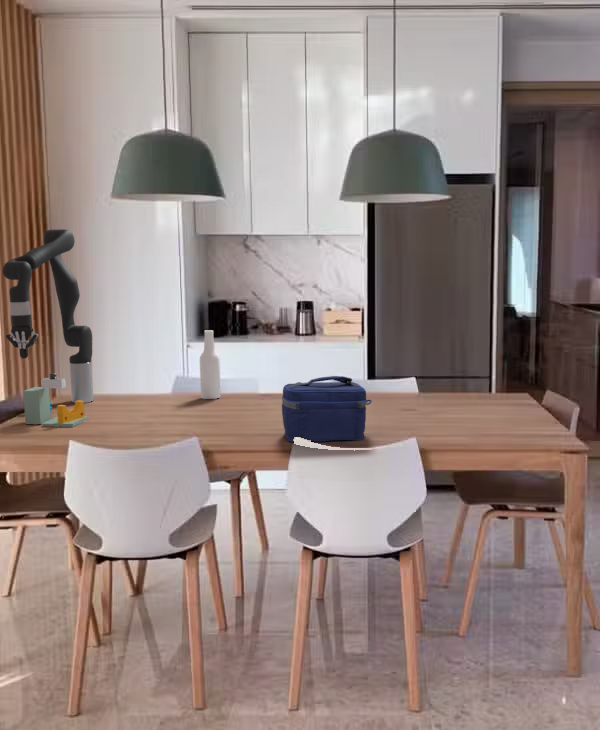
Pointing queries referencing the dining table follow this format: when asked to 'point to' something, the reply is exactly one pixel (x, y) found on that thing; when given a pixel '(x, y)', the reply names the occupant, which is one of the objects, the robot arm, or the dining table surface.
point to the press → (42, 409)
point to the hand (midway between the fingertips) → (24, 358)
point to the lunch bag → (324, 409)
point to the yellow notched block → (70, 412)
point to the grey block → (53, 382)
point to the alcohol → (210, 369)
